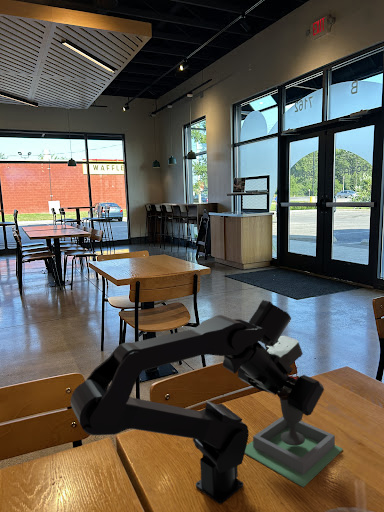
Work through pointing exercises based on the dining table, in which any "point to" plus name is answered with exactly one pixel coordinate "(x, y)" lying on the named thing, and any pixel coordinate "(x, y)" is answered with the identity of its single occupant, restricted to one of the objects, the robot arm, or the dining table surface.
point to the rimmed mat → (294, 451)
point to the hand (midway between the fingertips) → (297, 400)
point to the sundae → (290, 418)
